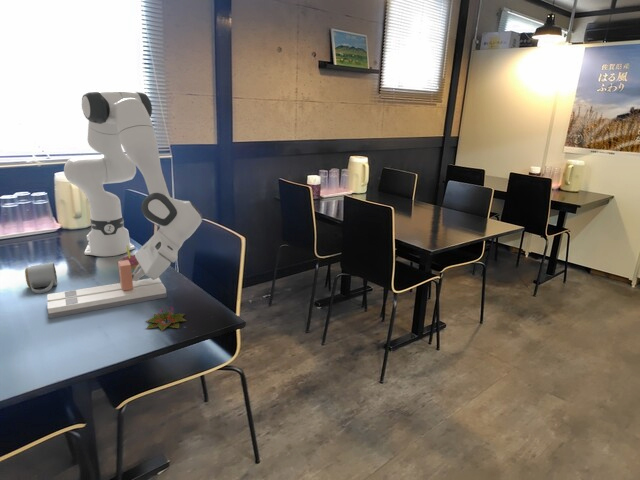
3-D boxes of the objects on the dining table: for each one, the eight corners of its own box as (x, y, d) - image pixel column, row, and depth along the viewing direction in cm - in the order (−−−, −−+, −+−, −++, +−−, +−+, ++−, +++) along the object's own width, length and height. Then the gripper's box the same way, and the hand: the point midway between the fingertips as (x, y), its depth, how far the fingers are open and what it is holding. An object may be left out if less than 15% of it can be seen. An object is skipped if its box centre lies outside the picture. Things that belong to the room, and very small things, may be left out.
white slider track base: (48, 303, 130) (47, 294, 129) (159, 285, 146) (158, 276, 145) (49, 318, 121) (47, 308, 120) (166, 297, 137) (165, 288, 137)
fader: (120, 290, 137) (117, 261, 134) (131, 288, 139) (128, 259, 136) (123, 295, 133) (120, 266, 130) (133, 294, 135) (130, 264, 132)
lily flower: (150, 313, 127) (149, 299, 126) (191, 313, 129) (191, 299, 127) (138, 334, 116) (136, 318, 115) (183, 333, 117) (182, 317, 116)
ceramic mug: (29, 284, 143) (25, 262, 141) (57, 280, 147) (54, 259, 145) (27, 296, 135) (23, 273, 132) (57, 292, 139) (54, 269, 136)
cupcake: (136, 280, 149) (133, 247, 146) (115, 277, 151) (111, 245, 147) (151, 271, 158) (148, 240, 154) (130, 269, 159) (127, 238, 156)
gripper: (149, 231, 145) (120, 263, 143) (162, 248, 128) (130, 284, 126) (163, 242, 148) (135, 273, 146) (178, 260, 132) (147, 295, 130)
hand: (133, 278), depth 136 cm, fingers closed, pressing on fader
